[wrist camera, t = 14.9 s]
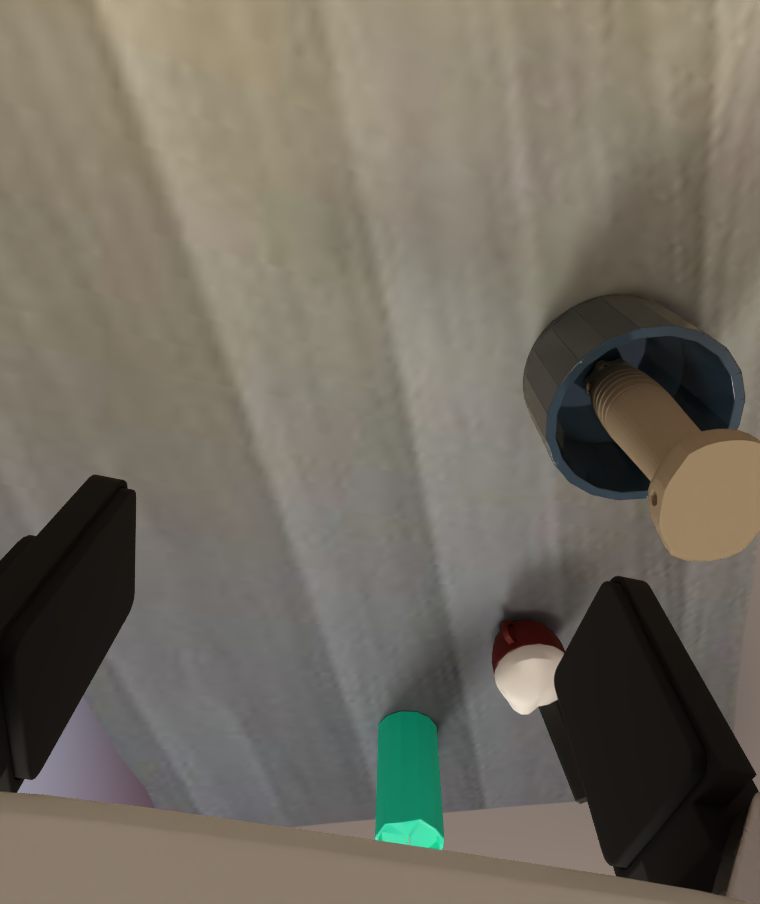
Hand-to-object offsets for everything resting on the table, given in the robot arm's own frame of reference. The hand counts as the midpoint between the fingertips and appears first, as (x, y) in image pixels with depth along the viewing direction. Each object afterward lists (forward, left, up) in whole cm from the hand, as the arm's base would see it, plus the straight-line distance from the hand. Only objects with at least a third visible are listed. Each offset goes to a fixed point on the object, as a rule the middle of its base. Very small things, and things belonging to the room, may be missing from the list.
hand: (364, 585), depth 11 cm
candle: (+43, +12, -28) cm, 53 cm away
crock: (+3, +16, -28) cm, 33 cm away
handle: (+3, +16, -28) cm, 32 cm away
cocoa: (+28, +19, -28) cm, 44 cm away
